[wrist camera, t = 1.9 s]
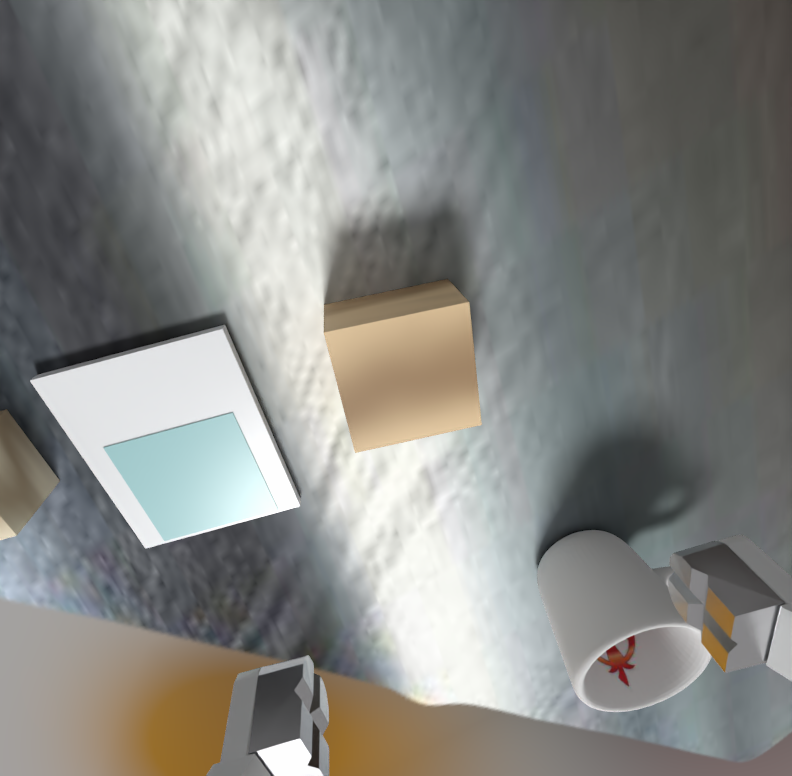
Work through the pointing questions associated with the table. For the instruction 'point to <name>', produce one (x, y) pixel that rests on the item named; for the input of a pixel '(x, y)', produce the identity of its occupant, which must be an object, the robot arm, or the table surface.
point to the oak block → (404, 363)
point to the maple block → (20, 478)
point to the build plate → (173, 435)
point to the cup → (617, 623)
